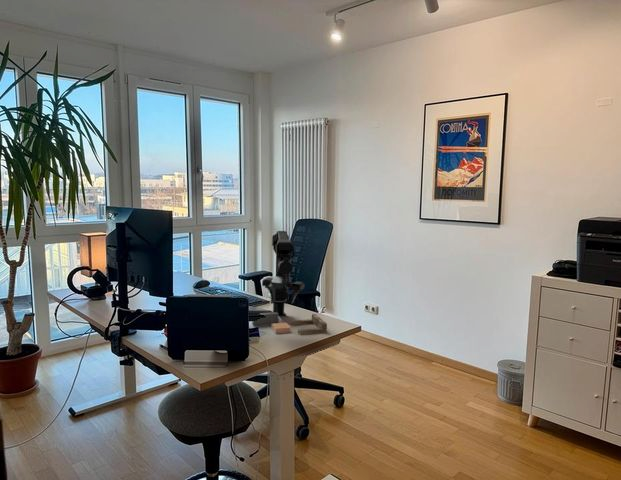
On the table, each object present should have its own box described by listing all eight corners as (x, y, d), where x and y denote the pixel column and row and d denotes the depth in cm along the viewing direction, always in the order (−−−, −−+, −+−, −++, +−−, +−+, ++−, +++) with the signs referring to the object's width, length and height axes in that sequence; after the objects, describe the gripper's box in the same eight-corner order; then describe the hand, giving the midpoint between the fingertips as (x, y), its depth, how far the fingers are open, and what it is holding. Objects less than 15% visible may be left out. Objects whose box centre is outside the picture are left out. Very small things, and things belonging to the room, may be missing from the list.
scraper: (254, 327, 199) (254, 316, 198) (251, 322, 206) (251, 312, 205) (280, 325, 203) (281, 315, 203) (277, 320, 210) (277, 310, 209)
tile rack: (289, 323, 206) (290, 315, 205) (315, 321, 210) (315, 313, 209) (299, 334, 192) (299, 325, 191) (326, 332, 196) (327, 323, 195)
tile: (271, 328, 199) (271, 323, 198) (286, 327, 201) (286, 322, 201) (275, 334, 192) (275, 328, 192) (290, 332, 194) (290, 327, 194)
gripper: (257, 270, 190) (256, 304, 192) (296, 275, 184) (294, 310, 186) (268, 265, 200) (267, 297, 203) (305, 270, 194) (304, 303, 196)
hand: (282, 302), depth 197 cm, fingers open, 9 cm apart
